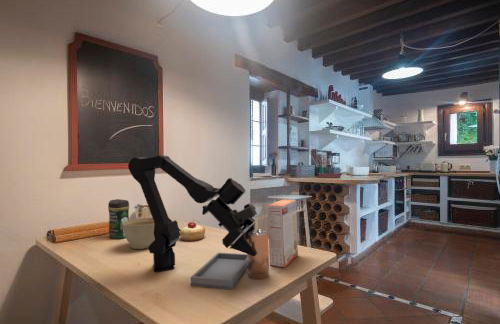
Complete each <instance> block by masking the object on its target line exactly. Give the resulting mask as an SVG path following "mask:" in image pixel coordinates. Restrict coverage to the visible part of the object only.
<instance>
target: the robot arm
mask: <svg viewBox="0 0 500 324" xmlns="http://www.w3.org/2000/svg"><path fill="white" fill-rule="evenodd" d="M127 167H128V170H129V172H130V175H131V176H132V178H133V179H134V180H135V181H137V183H138V184H139V185H140V188H141V190H142V193H143V195H144V198H145V201H146V204H147V207H148V210H149V212H150V215H151V218H153V220H154V238H155V240H154V241H153V242H152V243H151V244H150V246H149V247H148V248H147V249H148V251H149V254H152V256H153V257H152V262H153V264H152V268H153V272H154V273H158V272H162V271H163V272H164V271H168V270H173V269H175V265H176V255H175V254H176V253H175V251H174V247H176V245H177V242H178V241H179V239H180V238H181V236H180V231H181V228H179V224H178V221H177V219H175V220H172V219H171V218H170V217H169V215H168V212H167V210H166V207H165V205H164V204H165V203H164V202H163V199H162V197H161V193H160V191H159V189H158V185H157V183H156V180H155V179H156V178H155V177H156V170H157V169H160V170H162V171H163V172H165V173H166V174H167V175H168V176H170V177H171V178H172V179H173V180H174V181H176V182H177V183H179V184H180V185H181V186H183V188H184V189H185V190H186V192H187V194H188V195H189V197H190V198H191V199H192V200H193V201H194V202H195V203H198V204H204V203H207V202H209V203H207V205H202V215H206V214H208V213H210V214H211V215H212V217H213V218H214V219H216V221H217V222H218V224H217V225H218V226H219V227H222V228H224V229H225V230H226V232H228V233H227V234H226V235H225V236H224V237H223V238H222V240H221V241H222V245H223V246H224V247H225V248H226V249H228V248H229V249H230V250H232V249H233V250H235V251H239V252H241V253H243V254H249V255H251V256H255V255H256V252H255V251H254V249H253V248H252V247H251V245H250V244H249V243H248V241H247V240H248V233H249V232H250V231H253V230H256V222H255V221H256V220H255V219H254V217H255V216H256V215H257V214H258V213H257V211H256V206H254V204H251V203H247V204H245V205H244V206H243V209H241V210H239V211H238V210H237V209H235V208H234V209H233V208H231V207H230V206H229V205H235V204H236V203H237V202H238V200H239V199H241V197H242V196H243V195H244V194H245V193H246V189H245V188H244V186H243V185H242V184H241V183H238V182H237V181H235V180H234V179H233V178H232V177H229V178H228V179H226V181H225V182H224V184H223V185H222V186H221V187H220V188H219V187H214V186H213V185H211V184H209V183H208V182H206V181H204V180H201V179H198V178H196V177H194V176H193V175H192V174H191V173H189V172H188V171H186V170H185V169H184V168H183V167H181V166H180V165H179V164H177V163H176V162H175V161H174V160H172V158H171V157H170V156H168V155H161V154H160V155H156V156H151V157H143V156H141V157H138V156H137V157H132V158H131V159H130V161H129V163H128V164H127ZM214 198H216V199H214ZM246 239H247V240H246Z"/></svg>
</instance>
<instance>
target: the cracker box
mask: <svg viewBox="0 0 500 324" xmlns="http://www.w3.org/2000/svg"><path fill="white" fill-rule="evenodd" d="M297 217H298V216H297V199H285V198H284V199H281V200H278V201H276V202H273V203H270V204H268V205H267V220H268V221H267V223H268V225H267V227H268V247H269V266H271V267H277V268H286V267H287V266H288V265H289V264H290V263H291V262H292V261H294V259H295V258H296V257H297V256H298V255H299V247H298V221H297V220H298V219H297Z"/></svg>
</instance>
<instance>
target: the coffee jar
mask: <svg viewBox="0 0 500 324" xmlns="http://www.w3.org/2000/svg"><path fill="white" fill-rule="evenodd" d="M107 206H108V207H107V209H108V215H109V216H108V217H109V219H108V222H109V223H108V237H109V238H112V239H114V240H119V239H120V240H121V239H126V237H125V235H124V231H123V225H122V223H123V222H125V221H128V220H130V218H129V217H130V216H129V213H130V212H129V211H130V202H129V200H128V199H120V198H117V199H111V200H109V201H108V205H107Z"/></svg>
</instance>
